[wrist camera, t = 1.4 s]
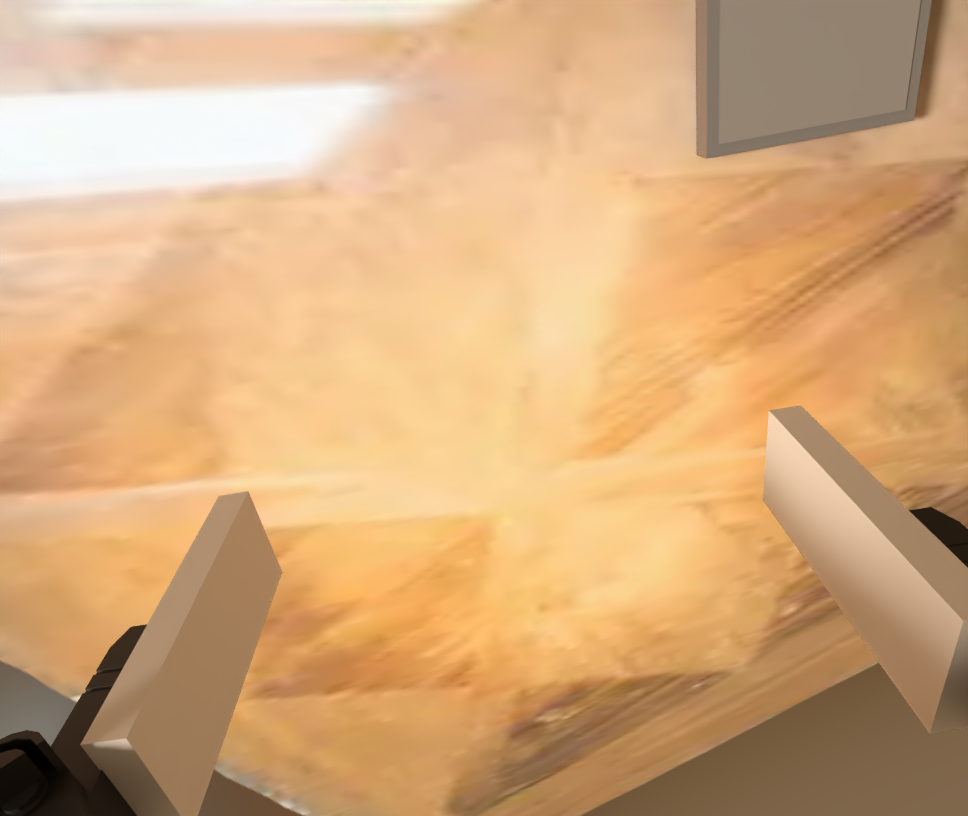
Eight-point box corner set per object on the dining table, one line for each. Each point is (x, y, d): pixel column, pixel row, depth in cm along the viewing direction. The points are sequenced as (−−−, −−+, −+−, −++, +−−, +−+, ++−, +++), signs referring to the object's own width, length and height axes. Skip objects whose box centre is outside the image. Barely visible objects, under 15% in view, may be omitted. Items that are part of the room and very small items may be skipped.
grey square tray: (695, -89, 38) (708, -98, 36) (930, -137, 37) (955, -148, 35) (696, 155, 44) (707, 158, 43) (895, 118, 44) (915, 120, 42)
